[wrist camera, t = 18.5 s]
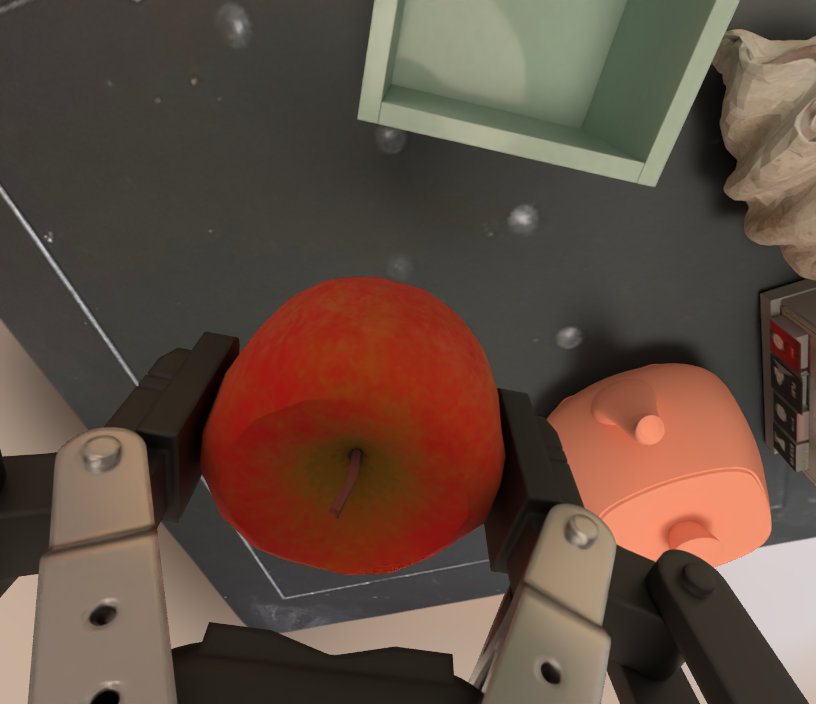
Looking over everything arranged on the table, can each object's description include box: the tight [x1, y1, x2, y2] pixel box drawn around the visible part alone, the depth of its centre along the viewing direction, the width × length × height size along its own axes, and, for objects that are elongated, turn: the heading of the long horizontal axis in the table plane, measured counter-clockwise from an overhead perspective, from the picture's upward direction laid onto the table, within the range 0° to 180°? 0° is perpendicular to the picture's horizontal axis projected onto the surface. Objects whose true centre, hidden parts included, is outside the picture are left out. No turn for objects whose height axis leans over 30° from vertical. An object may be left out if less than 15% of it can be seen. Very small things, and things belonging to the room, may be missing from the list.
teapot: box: [547, 363, 772, 568], centre depth 33 cm, size 13×20×12 cm, turn 29°
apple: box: [200, 277, 506, 575], centre depth 13 cm, size 6×6×8 cm
